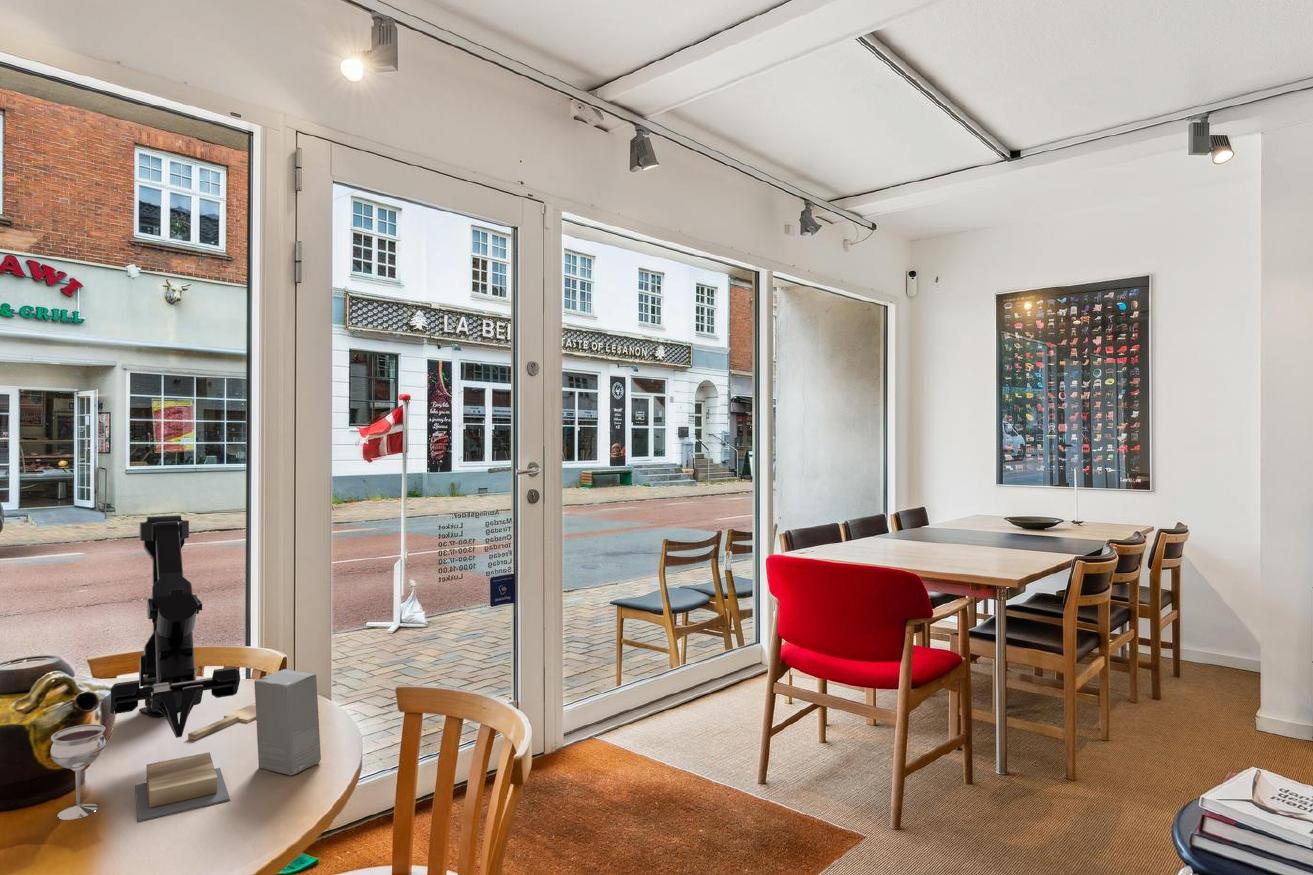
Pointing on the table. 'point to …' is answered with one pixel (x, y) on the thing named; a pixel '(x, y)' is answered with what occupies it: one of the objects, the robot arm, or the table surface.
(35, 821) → the table surface
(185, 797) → the oak tile
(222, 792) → the felt mat
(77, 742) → the wineglass
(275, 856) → the table surface
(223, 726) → the wooden spatula
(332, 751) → the table surface
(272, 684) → the skincare box
